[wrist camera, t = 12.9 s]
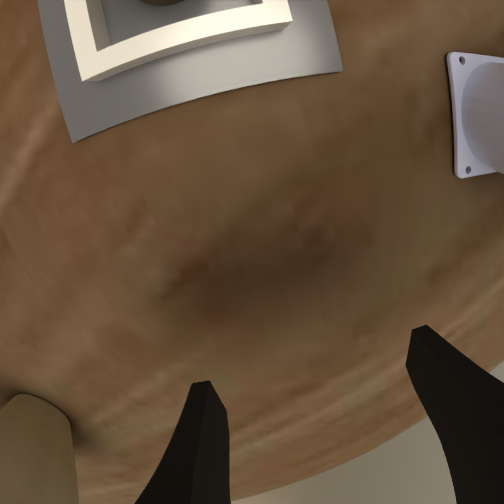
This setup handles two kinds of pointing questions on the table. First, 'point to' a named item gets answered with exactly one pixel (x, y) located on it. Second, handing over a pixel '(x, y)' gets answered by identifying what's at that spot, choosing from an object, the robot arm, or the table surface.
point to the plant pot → (36, 454)
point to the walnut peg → (161, 2)
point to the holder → (176, 52)
